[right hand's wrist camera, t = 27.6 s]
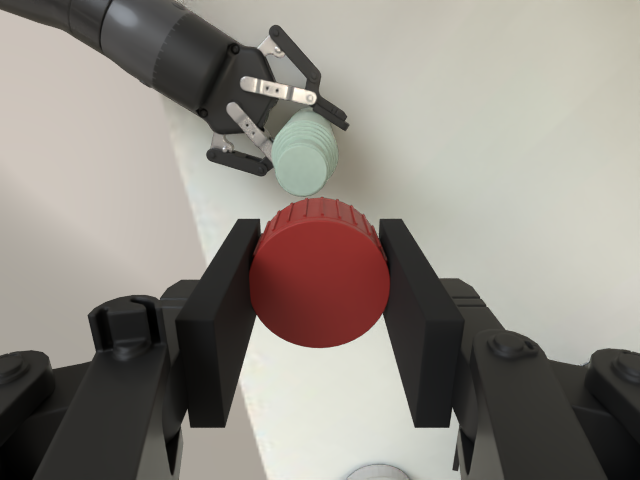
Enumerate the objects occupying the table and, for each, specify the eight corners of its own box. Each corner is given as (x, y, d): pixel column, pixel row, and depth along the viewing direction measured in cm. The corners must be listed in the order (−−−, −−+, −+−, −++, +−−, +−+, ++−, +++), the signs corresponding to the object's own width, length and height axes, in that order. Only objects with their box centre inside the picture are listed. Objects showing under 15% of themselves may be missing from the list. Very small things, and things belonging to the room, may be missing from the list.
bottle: (328, 152, 46) (338, 214, 24) (287, 149, 46) (259, 207, 24) (332, 109, 44) (347, 132, 22) (289, 105, 44) (262, 124, 22)
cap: (328, 169, 13) (330, 187, 11) (404, 263, 14) (420, 298, 12) (232, 246, 14) (215, 278, 12) (311, 328, 15) (309, 373, 13)
